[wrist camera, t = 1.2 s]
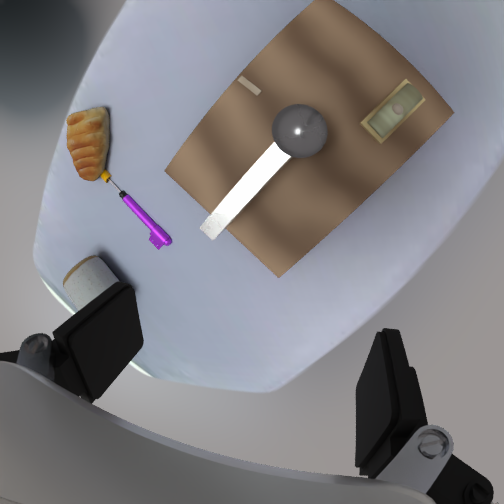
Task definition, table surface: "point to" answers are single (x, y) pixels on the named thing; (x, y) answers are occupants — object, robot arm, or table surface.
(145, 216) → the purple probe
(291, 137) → the ball-ended lever
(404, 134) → the brown wooden board
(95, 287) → the ceramic mug
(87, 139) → the pastry
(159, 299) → the table surface
